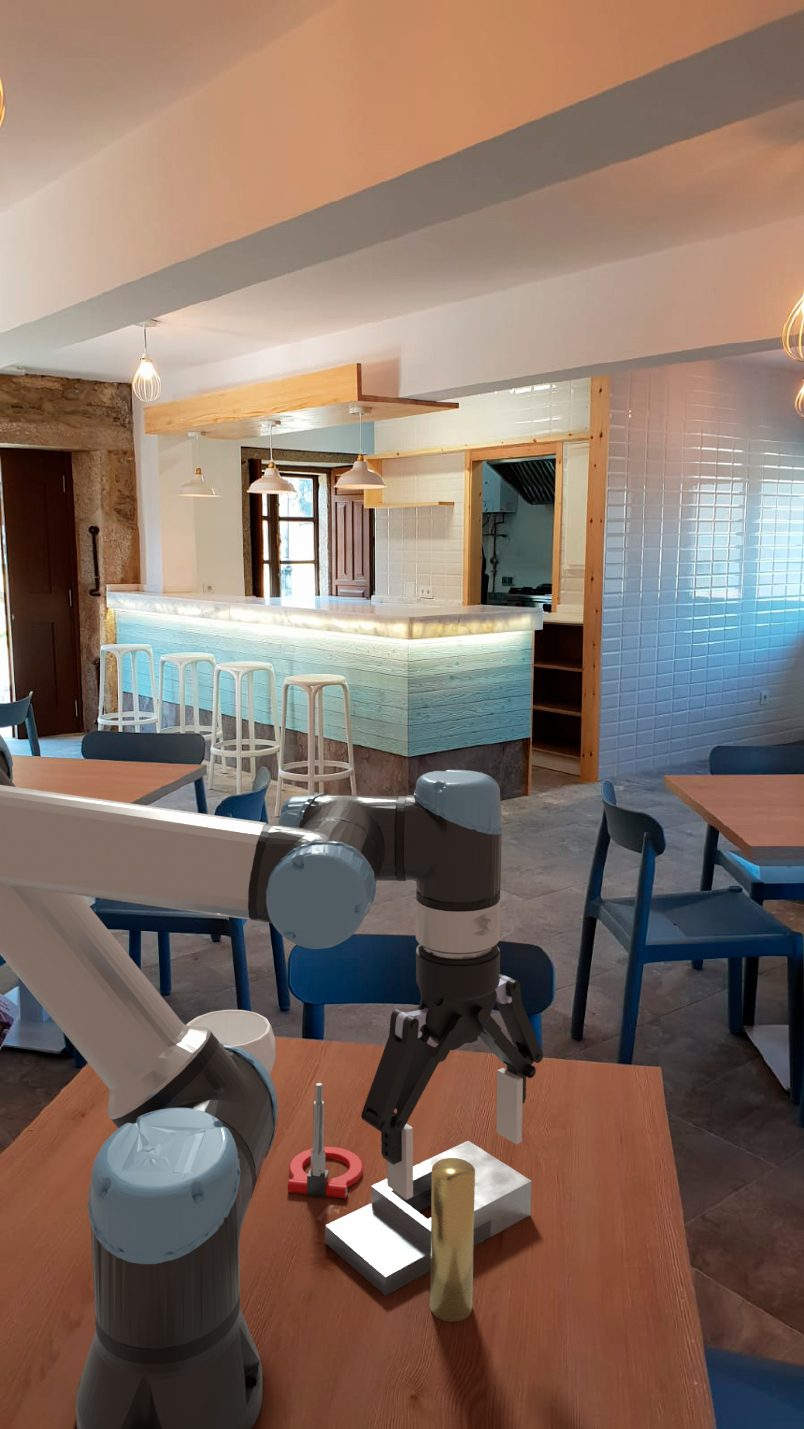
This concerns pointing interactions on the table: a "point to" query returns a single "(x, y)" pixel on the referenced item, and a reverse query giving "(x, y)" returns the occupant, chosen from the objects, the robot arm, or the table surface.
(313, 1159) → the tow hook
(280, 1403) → the table surface
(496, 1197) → the square hole base
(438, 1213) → the pin
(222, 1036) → the cup
